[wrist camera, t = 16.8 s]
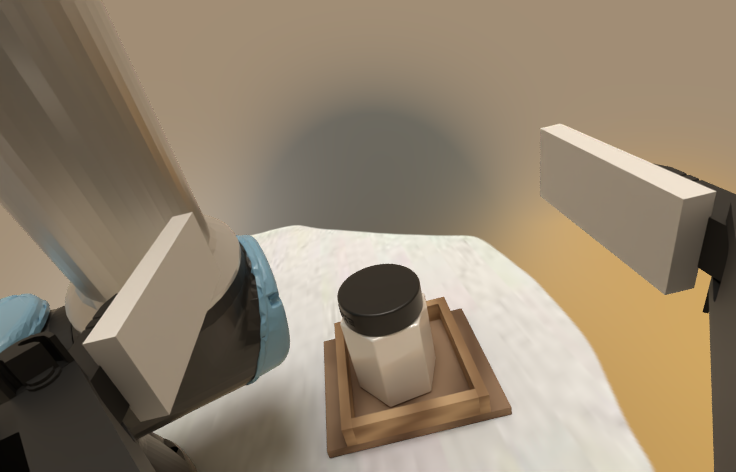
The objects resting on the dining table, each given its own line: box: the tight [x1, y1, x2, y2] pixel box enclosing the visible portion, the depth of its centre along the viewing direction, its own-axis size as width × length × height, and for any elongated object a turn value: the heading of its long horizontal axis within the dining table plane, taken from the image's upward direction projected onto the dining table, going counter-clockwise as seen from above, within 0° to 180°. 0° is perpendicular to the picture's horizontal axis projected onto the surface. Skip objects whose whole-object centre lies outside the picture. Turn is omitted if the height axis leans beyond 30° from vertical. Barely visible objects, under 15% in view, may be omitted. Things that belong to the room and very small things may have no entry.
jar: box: [337, 264, 436, 407], centre depth 42 cm, size 9×8×12 cm
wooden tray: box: [324, 297, 512, 458], centre depth 45 cm, size 18×15×4 cm
